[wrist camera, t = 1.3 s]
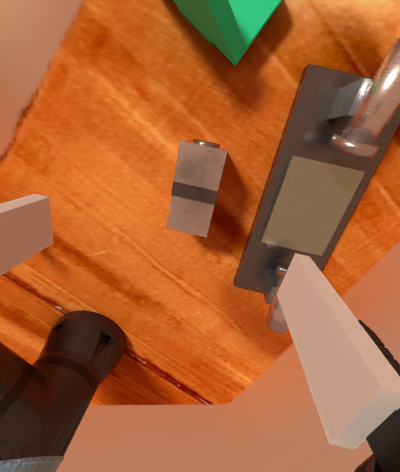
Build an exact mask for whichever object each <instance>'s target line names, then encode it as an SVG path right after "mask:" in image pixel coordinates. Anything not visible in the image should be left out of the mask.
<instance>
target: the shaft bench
mask: <svg viewBox="0 0 400 472" xmlns="http://www.w3.org/2000/svg"><path fill="white" fill-rule="evenodd" d="M399 124H400V38H397V39H395V40H394V41H393V43H392V45H391V47H390V48H389V50H388V52H387V54H386V56H385V57H384V59H383V61H382V63H381V65H380V66H379V68H378V70H377V72H376V73H375V75H374V77H373V78H368V77H364V76H359V75H355V74H351V73H346V72H342V71H338V70H333V69H329V68H324V67H320V66H316V65H311V64H309V65H308V66H306V67H305V68H304V71H303V74H302V77H301V80H300V83H299V86H298V89H297V92H296V95H295V98H294V101H293V104H292V107H291V110H290V113H289V116H288V119H287V122H286V125H285V128H284V131H283V134H282V137H281V140H280V143H279V146H278V149H277V152H276V155H275V158H274V161H273V164H272V167H271V170H270V173H269V176H268V179H267V182H266V185H265V188H264V191H263V194H262V197H261V200H260V203H259V206H258V209H257V212H256V215H255V218H254V221H253V224H252V227H251V230H250V233H249V236H248V239H247V242H246V245H245V248H244V251H243V254H242V257H241V260H240V263H239V266H238V269H237V272H236V275H235V278H234V286H236V287H241V288H245V289H250V290H254V291H259V292H263V294H264V298H265V302H266V303H267V304H271V306H270V309H269V313H268V316H267V319H266V325H267V326H268V327H269V328H270V329H271V330H273V331H275V332H278V333H287V331H288V325H287V322H286V320H285V317H284V314H283V311H282V308H281V305H280V302H279V300H278V297H277V292H278V290H279V288H280V286H281V283H282V281H283V279H284V277H285V275H286V272H287V270H288V268H289V266H290V264H291V261H292V259H293V257H294V255H295V253H297V254H301V255H305V256H310V258H311V259H312V260H313V262H314V263H315V264H316V266H317V267H318V268H319V270H320V271H322V269H323V267H324V265H325V263H326V262H327V260H328V258H329V256H330V254H331V252H332V250H333V248H334V246H335V245H336V243H337V241H338V239H339V237H340V235H341V233H342V231H343V230H344V228H345V226H346V224H347V222H348V220H349V218H350V216H351V215H352V213H353V211H354V209H355V207H356V205H357V203H358V201H359V200H360V198H361V196H362V194H363V192H364V190H365V188H366V186H367V185H368V183H369V181H370V179H371V177H372V175H373V173H374V171H375V169H376V168H377V166H378V164H379V162H380V160H381V158H382V156H383V154H384V153H385V151H386V149H387V147H388V145H389V143H390V141H391V139H392V138H393V136H394V134H395V132H396V130H397V128H398V126H399Z"/></svg>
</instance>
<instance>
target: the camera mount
mask: <svg viewBox="0 0 400 472" xmlns="http://www.w3.org/2000/svg"><path fill="white" fill-rule="evenodd" d="M173 1H174V2H175V3H176V5H177V6H178V9H179V11H180V12H181V13H182V14H183V15H184V16H185V17H186V18H187V19H188V20H189V21H190V22H191V24H192V25H193V26H194V27H195V28H196V29H197V30H198V31H199V32H200V33H201V34H202V35H203V36H204V37H205V38H206V39H207V40H208V41H209V43H210V44H212V43H213V44H214V45H215V46H216V47H217V48H218V49H219V50H220V51H221V52H222V53H223V54H224V55H225V56H226V57H227V58H228V60H229V61H230V62H231V63H232V64H233V65H234V66H236V65H237V63H238V62H239V61H240V59H241V58H242V56H243V55H244V54H245V52H246V51H247V50H248V48H249V47H250V45H251V44H252V43H253V41H254V40H255V39H256V37H257V36H258V34H259V33H260V32H261V30H262V29H263V28H264V26H265V25H266V23H267V22H268V21H269V19H270V18H271V17H272V15H273V14H274V12H275V11H276V10H277V8H278V7H279V6H280V4H281V3H282V1H283V0H173Z"/></svg>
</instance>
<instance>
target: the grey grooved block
mask: <svg viewBox="0 0 400 472" xmlns="http://www.w3.org/2000/svg"><path fill="white" fill-rule="evenodd" d="M226 156H227V150H226V149H224V148H220V145H219V144H216V143H211V142H207V141H203V140H198V139H193V141H180V144H179V151H178V157H177V164H176V171H175V177H174V181H173V187H172V194H171V195H172V197H171V204H170V210H169V217H168V223H167V229H171V230H176V231H180V232H185V233H189V234H194V235H198V236H202V237H207V234H208V230H209V226H210V222H211V217H212V213H213V209H214V205H215V203H216V199H217V195H218V189H219V184H220V180H221V176H222V172H223V168H224V164H225V160H226Z"/></svg>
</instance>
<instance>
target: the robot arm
mask: <svg viewBox="0 0 400 472" xmlns="http://www.w3.org/2000/svg"><path fill="white" fill-rule="evenodd" d="M52 244H53V233H52V223H51V213H50V203H49V197H46V196H42V195H38V194H32V195H29V196H25V197H22V198H18V199H15V200H11V201H8V202H4V203H1V204H0V276H1V275H2V274H4V273H6V272H7V271H9V270H11V269H12V268H14V267H16V266H17V265H19V264H20V263H22V262H24V261H25V260H27V259H29V258H30V257H32V256H34V255H35V254H37V253H38V252H40V251H42V250H43V249H45V248H47V247H48V246H50V245H52ZM277 297H278V300H279V302H280V305H281V308H282V311H283V314H284V317H285V320H286V322H287V325H288V328H289V331H290V334H291V337H292V339H293V342H294V345H295V348H296V351H297V353H298V356H299V359H300V362H301V365H302V368H303V371H304V374H305V376H306V379H307V382H308V385H309V388H310V391H311V393H312V396H313V399H314V402H315V405H316V408H317V411H318V413H319V416H320V419H321V422H322V425H323V428H324V430H325V433H326V436H327V439H328V442H329V444H333V445H337V446H342V447H346V448H350V449H356V448H357V447H358V446H359V445H360V444H361V443H362V442H364V440H366V439H367V441H368V443H369V445H370V448H371V450H372V452H373V454H372V455H371V456H370V457H369V458H368V459H366V460H365V461H364V462H363V463H362V464H361V465H359V466H358V467H357V468H356V470H355V472H400V364H399V363H398V362H397V361H396V360H394V359H393V356H392V354H391V353H390V352H389V350H388V349H387V348H385V347H384V346H385V345H384V344H383V343H382V342H381V340H380V339H379V338H378V337H377V335H376V334H375V333H374V332H373V331H372V330H371V329H370V328H369V327H368V326H366V325H365V324H364V323H363V322H362V321H361V320H357V319H356V318H355V316H354V315H353V314H352V312H351V311H350V310H349V308H348V307H347V306H346V304H345V303H344V302H343V300H342V299H341V298H340V296H339V295H338V294H337V292H336V291H335V290H334V288H333V287H332V286H331V284H330V283H329V282H328V280H327V279H326V278H325V276H324V275H323V274H322V272H321V271H320V270H319V268H318V267H317V266H316V264H315V263H314V262H313V260H312V259H311V258H310V256H305V255H301V254H297V253H295V255H294V257H293V259H292V261H291V264H290V266H289V268H288V270H287V272H286V275H285V277H284V279H283V281H282V283H281V286H280V288H279V290H278V292H277ZM125 350H126V339H125V336H124V334H123V332H122V331H121V330H120V328H119V327H118V326H117V325H116V324H115V323H113V322H112V321H111V320H109V319H108V318H106V317H104V316H102V315H100V314H97V313H94V312H89V311H73V312H69V313H67V314H65V315H64V316H62V317H61V318H60V319H59V321H58V322H57V323H56V324H55V325H54V326H53V328H52V329H51V332H50V334H49V336H48V338H47V340H46V343H45V345H44V347H43V349H42V352H41V354H40V356H39V358H38V359H37V361H36V362H35V363H34V364H33V365H31V364H29V363H28V362H27V361H26V360H24V359H23V358H22V357H20V356H19V355H17V354H16V353H15V352H13V351H12V350H10V349H9V348H8V347H6V346H5V345H4V344H2V343H1V342H0V472H55V471H56V470H57V468H58V466H59V465H60V463H61V462H62V461H63V459H64V457H63V456H64V454H65V452H66V450H67V448H68V446H69V444H70V442H71V440H72V438H73V436H74V434H75V432H76V430H77V428H78V426H79V424H80V422H81V420H82V418H83V416H84V414H85V412H86V410H87V408H88V406H89V404H90V402H91V400H92V397H93V395H94V393H95V391H96V390H97V388H98V386H99V385H100V384H101V383H102V381H103V380H104V379H105V378H106V377H107V376H108V375H109V373H110V372H111V371H112V370H113V369H114V368H115V367H116V366H117V364H118V363H119V362H120V360H121V358H122V356H123V354H124V352H125Z"/></svg>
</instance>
